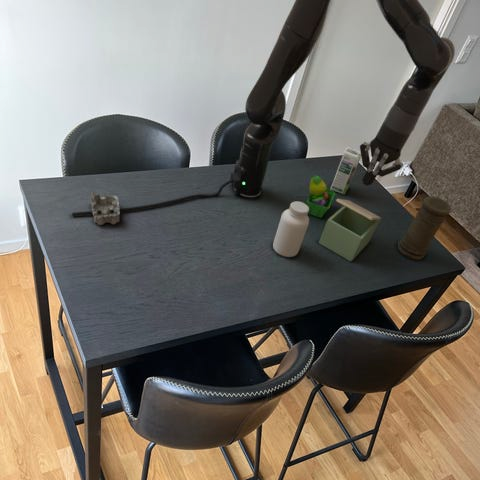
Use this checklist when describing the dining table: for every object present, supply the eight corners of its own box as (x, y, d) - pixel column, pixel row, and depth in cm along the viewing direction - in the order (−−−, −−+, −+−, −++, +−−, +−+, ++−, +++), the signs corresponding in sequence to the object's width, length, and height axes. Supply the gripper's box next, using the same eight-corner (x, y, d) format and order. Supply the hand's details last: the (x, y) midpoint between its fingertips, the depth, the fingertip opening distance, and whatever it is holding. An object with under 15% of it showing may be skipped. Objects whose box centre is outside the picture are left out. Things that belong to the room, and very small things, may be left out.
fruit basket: (324, 221, 151) (335, 192, 143) (298, 212, 152) (308, 182, 144) (330, 204, 159) (342, 175, 151) (306, 195, 160) (316, 166, 151)
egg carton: (91, 203, 135) (90, 190, 132) (117, 203, 137) (117, 191, 134) (92, 225, 128) (91, 213, 125) (120, 225, 130) (120, 213, 127)
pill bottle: (301, 246, 140) (316, 204, 129) (294, 261, 134) (310, 219, 124) (276, 237, 141) (289, 194, 130) (269, 251, 135) (282, 208, 124)
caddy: (350, 261, 140) (362, 238, 133) (318, 242, 143) (327, 219, 136) (368, 242, 148) (380, 220, 142) (337, 225, 151) (347, 202, 145)
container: (424, 263, 146) (454, 216, 133) (397, 255, 146) (424, 207, 133) (422, 246, 153) (451, 200, 140) (396, 238, 153) (422, 191, 140)
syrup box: (329, 189, 165) (343, 152, 155) (333, 182, 169) (347, 145, 159) (344, 195, 165) (359, 158, 154) (348, 188, 169) (363, 151, 158)
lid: (371, 220, 129) (372, 217, 129) (335, 200, 132) (337, 198, 132) (379, 220, 142) (381, 217, 141) (347, 202, 145) (348, 200, 144)
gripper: (370, 116, 115) (340, 176, 128) (417, 141, 113) (382, 200, 125) (380, 109, 120) (350, 168, 133) (425, 134, 118) (390, 191, 130)
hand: (366, 184), depth 129 cm, fingers closed
